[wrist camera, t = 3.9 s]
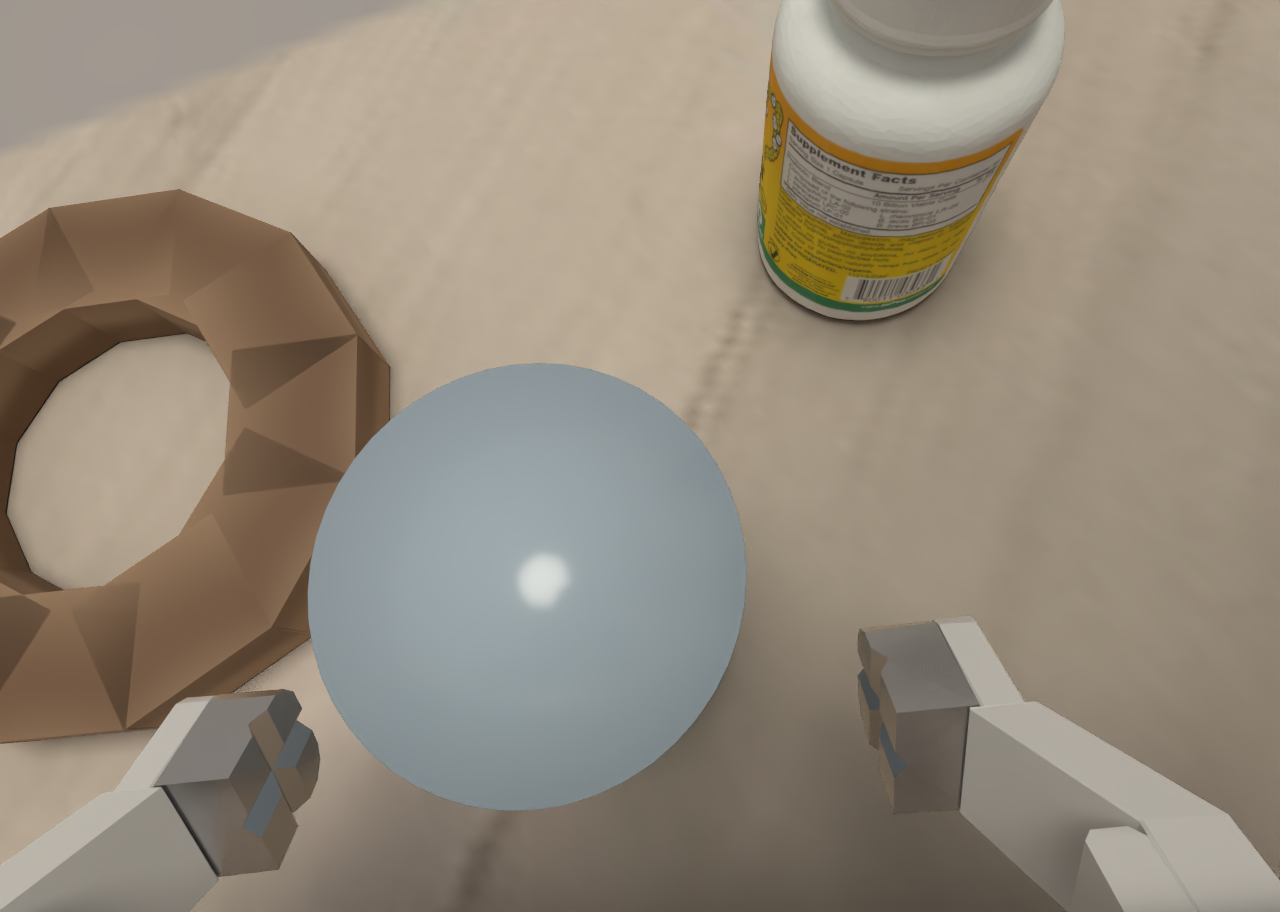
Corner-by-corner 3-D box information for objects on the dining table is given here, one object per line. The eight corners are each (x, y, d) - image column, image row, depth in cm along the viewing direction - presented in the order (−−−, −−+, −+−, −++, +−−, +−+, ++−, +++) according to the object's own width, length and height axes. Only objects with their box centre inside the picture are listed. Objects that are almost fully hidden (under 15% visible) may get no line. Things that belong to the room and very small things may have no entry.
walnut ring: (390, 206, 23) (360, 162, 21) (388, 705, 19) (351, 707, 17) (-56, 269, 24) (-124, 232, 22) (-153, 759, 19) (-248, 766, 17)
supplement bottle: (884, 363, 20) (1030, 84, 11) (714, 260, 21) (714, -66, 12) (994, 212, 21) (1212, -162, 12) (824, 123, 22) (901, -276, 13)
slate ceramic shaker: (716, 532, 19) (717, 338, 9) (740, 730, 18) (778, 788, 7) (532, 553, 19) (313, 390, 9) (543, 748, 18) (299, 831, 7)
